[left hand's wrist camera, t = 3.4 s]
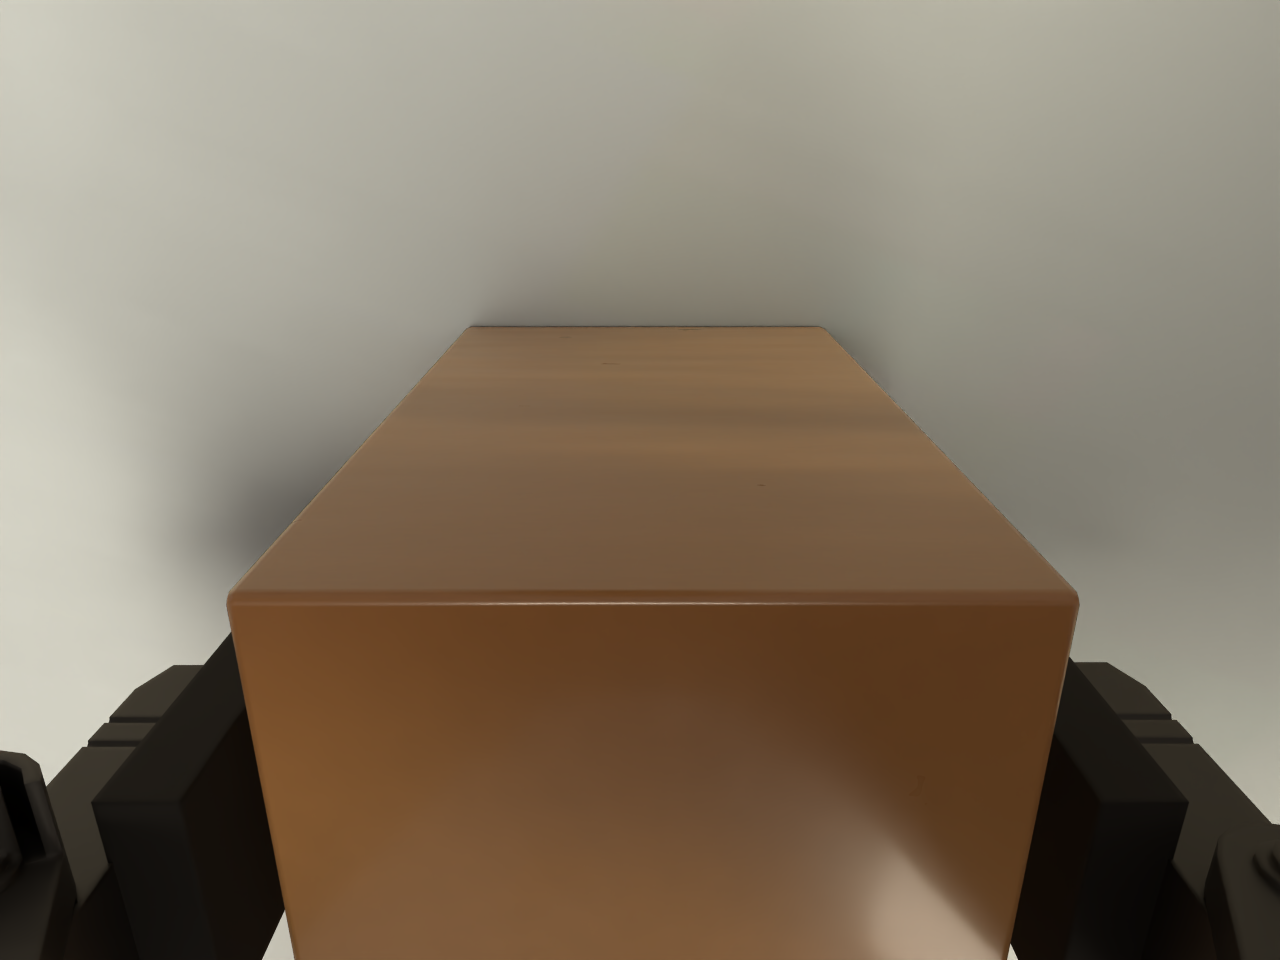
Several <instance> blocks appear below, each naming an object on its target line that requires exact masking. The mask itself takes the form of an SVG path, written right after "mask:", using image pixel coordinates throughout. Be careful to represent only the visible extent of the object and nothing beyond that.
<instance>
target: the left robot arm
mask: <svg viewBox="0 0 1280 960" xmlns="http://www.w3.org/2000/svg"><path fill="white" fill-rule="evenodd" d="M284 910H285V907H284V902H283V896H282V891H281V886H280V881H279V876H278V870H277V865H276V860H275V855H274V850H273V844H272V839H271V834H270V829H269V824H268V818H267V813H266V808H265V803H264V798H263V792H262V787H261V782H260V777H259V772H258V766H257V761H256V756H255V751H254V746H253V741H252V735H251V730H250V725H249V720H248V715H247V709H246V704H245V699H244V694H243V689H242V683H241V678H240V673H239V668H238V663H237V657H236V652H235V647H234V642H233V637H232V632H231V633H230V634H229V635H228V636H227V638H226V639H225V640H224V641H223V642H222V644H221V645H220V646H219V647H218V648H217V650H216V651H215V652H214V653H213V655H212V656H211V657H210V658H209V659H208V661H207V662H206V663H205V664H204V665H173V666H172V667H170V668H168V669H167V670H165V671H164V672H162V673H160V674H159V675H157V676H156V677H154V678H152V679H151V680H149V681H148V682H146V683H144V684H143V685H141V686H140V687H138V688H136V689H135V690H134V691H133V692H132V693H131V694H130V696H129V697H128V698H127V699H126V700H125V701H124V702H123V703H122V704H121V705H120V706H119V708H118V709H117V710H116V711H115V712H114V713H113V714H112V715H111V716H110V720H109V723H104V724H103V725H102V726H101V727H100V728H99V729H98V731H97V732H96V733H95V734H94V735H93V736H92V737H91V738H90V739H89V740H88V746H87V747H82V748H81V749H80V750H79V751H78V752H77V754H76V755H75V756H74V757H73V758H72V759H71V760H70V761H69V762H68V763H67V765H66V766H65V767H64V768H63V769H62V770H61V771H60V772H59V773H58V774H57V775H56V777H55V778H54V779H53V780H52V781H51V782H50V783H49V784H48V785H47V786H46V785H45V782H44V778H43V775H42V772H41V768H40V765H39V764H38V763H37V762H36V761H34V760H33V759H31V758H30V757H29V756H27V755H26V754H23V753H15V752H8V751H0V960H262V958H263V956H264V954H265V952H266V950H267V947H268V945H269V943H270V941H271V939H272V936H273V934H274V932H275V930H276V928H277V926H278V923H279V921H280V919H281V917H282V915H283V913H284ZM1010 943H1011V945H1012V947H1013V950H1014V952H1015V954H1016V956H1017V958H1018V960H1280V825H1277V824H1272V823H1271V822H1270V821H1269V820H1268V819H1267V818H1266V817H1265V816H1264V815H1263V814H1262V812H1261V811H1260V810H1259V809H1258V808H1257V807H1256V806H1255V805H1254V804H1253V803H1252V802H1251V801H1250V799H1249V798H1248V797H1247V796H1246V795H1245V794H1244V793H1243V792H1242V791H1241V790H1240V789H1239V787H1238V786H1237V785H1236V784H1235V783H1234V782H1233V781H1232V780H1231V779H1230V778H1229V777H1228V776H1227V774H1226V773H1225V772H1224V771H1223V770H1222V769H1221V768H1220V767H1219V766H1218V765H1217V764H1216V762H1215V761H1214V760H1213V759H1212V758H1211V757H1210V756H1209V755H1208V754H1207V753H1206V752H1205V750H1204V749H1203V748H1202V747H1201V746H1200V745H1199V744H1194V743H1193V737H1192V736H1191V735H1190V734H1189V733H1188V732H1187V731H1186V730H1185V729H1184V728H1183V727H1182V725H1181V724H1180V723H1179V722H1178V721H1177V720H1172V718H1171V714H1170V712H1169V711H1168V710H1167V709H1166V708H1165V707H1164V706H1163V705H1162V704H1161V703H1160V702H1159V700H1158V699H1157V698H1156V697H1155V696H1154V695H1153V694H1152V693H1151V692H1150V691H1149V690H1148V689H1147V687H1146V686H1144V685H1143V684H1141V683H1139V682H1138V681H1136V680H1135V679H1133V678H1131V677H1130V676H1128V675H1126V674H1125V673H1123V672H1122V671H1120V670H1118V669H1117V668H1115V667H1114V666H1112V665H1110V664H1109V663H1107V662H1073V661H1072V659H1071V658H1070V657H1069V659H1068V664H1067V669H1066V674H1065V679H1064V683H1063V688H1062V693H1061V698H1060V703H1059V708H1058V713H1057V718H1056V722H1055V727H1054V732H1053V737H1052V742H1051V747H1050V752H1049V757H1048V762H1047V766H1046V771H1045V776H1044V781H1043V786H1042V791H1041V796H1040V801H1039V806H1038V810H1037V815H1036V820H1035V825H1034V830H1033V835H1032V840H1031V845H1030V850H1029V854H1028V859H1027V864H1026V869H1025V874H1024V879H1023V884H1022V889H1021V894H1020V898H1019V903H1018V908H1017V913H1016V918H1015V923H1014V928H1013V933H1012V938H1011V942H1010Z"/></svg>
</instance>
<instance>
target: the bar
mask: <svg viewBox="0 0 1280 960" xmlns="http://www.w3.org/2000/svg"><path fill="white" fill-rule="evenodd" d="M226 605H227V611H228V616H229V621H230V626H231V631H232V637H233V642H234V647H235V652H236V657H237V663H238V668H239V673H240V678H241V683H242V689H243V694H244V699H245V704H246V709H247V715H248V720H249V725H250V730H251V735H252V741H253V746H254V751H255V756H256V761H257V766H258V772H259V777H260V782H261V787H262V792H263V798H264V803H265V808H266V813H267V818H268V824H269V829H270V834H271V839H272V844H273V850H274V855H275V860H276V865H277V870H278V876H279V881H280V886H281V891H282V896H283V902H284V907H285V912H286V917H287V922H288V927H289V933H290V938H291V943H292V948H293V953H294V959H295V960H1007V957H1008V952H1009V947H1010V942H1011V938H1012V933H1013V928H1014V923H1015V918H1016V913H1017V908H1018V903H1019V898H1020V894H1021V889H1022V884H1023V879H1024V874H1025V869H1026V864H1027V859H1028V854H1029V850H1030V845H1031V840H1032V835H1033V830H1034V825H1035V820H1036V815H1037V810H1038V806H1039V801H1040V796H1041V791H1042V786H1043V781H1044V776H1045V771H1046V766H1047V762H1048V757H1049V752H1050V747H1051V742H1052V737H1053V732H1054V727H1055V722H1056V718H1057V713H1058V708H1059V703H1060V698H1061V693H1062V688H1063V683H1064V679H1065V674H1066V669H1067V664H1068V659H1069V654H1070V649H1071V644H1072V639H1073V635H1074V630H1075V625H1076V620H1077V615H1078V610H1079V598H1078V595H1077V592H1076V591H1075V590H1074V589H1073V588H1072V587H1071V586H1070V584H1069V583H1068V582H1067V581H1066V580H1065V579H1064V578H1063V577H1062V576H1061V575H1060V574H1059V573H1058V572H1057V571H1056V570H1055V569H1054V568H1053V567H1052V566H1051V565H1050V564H1049V563H1048V562H1047V560H1046V559H1045V558H1044V557H1043V556H1042V555H1041V554H1040V553H1039V552H1038V551H1037V550H1036V549H1035V548H1034V547H1033V546H1032V545H1031V544H1030V543H1029V542H1028V541H1027V540H1026V539H1025V538H1024V536H1023V535H1022V534H1021V533H1020V532H1019V531H1018V530H1017V529H1016V528H1015V527H1014V526H1013V525H1012V524H1011V523H1010V522H1009V521H1008V520H1007V519H1006V518H1005V517H1004V516H1003V515H1002V514H1001V512H1000V511H999V510H998V509H997V508H996V507H995V506H994V505H993V504H992V503H991V502H990V501H989V500H988V499H987V498H986V497H985V496H984V495H983V494H982V493H981V492H980V491H979V490H978V489H977V487H976V486H975V485H974V484H973V483H972V482H971V481H970V480H969V479H968V478H967V477H966V476H965V475H964V474H963V473H962V472H961V471H960V470H959V469H958V468H957V467H956V466H955V465H954V463H953V462H952V461H951V460H950V459H949V458H948V457H947V456H946V455H945V454H944V453H943V452H942V451H941V450H940V449H939V448H938V447H937V446H936V445H935V444H934V443H933V442H932V441H931V439H930V438H929V437H928V436H927V435H926V434H925V433H924V432H923V431H922V430H921V429H920V428H919V427H918V426H917V425H916V424H915V423H914V422H913V421H912V420H911V419H910V418H909V417H908V415H907V414H906V413H905V412H904V411H903V410H902V409H901V408H900V407H899V406H898V405H897V404H896V403H895V402H894V401H893V400H892V399H891V398H890V397H889V396H888V395H887V394H886V393H885V392H884V390H883V389H882V388H881V387H880V386H879V385H878V384H877V383H876V382H875V381H874V380H873V379H872V378H871V377H870V376H869V375H868V374H867V373H866V372H865V371H864V370H863V369H862V368H861V366H860V365H859V364H858V363H857V362H856V361H855V360H854V359H853V358H852V357H851V356H850V355H849V354H848V353H847V352H846V351H845V350H844V349H843V348H842V347H841V346H840V345H839V344H838V342H837V341H836V340H835V339H834V338H833V337H832V336H831V335H830V334H829V333H828V332H827V331H826V330H825V329H824V328H821V327H470V328H467V329H466V330H465V331H464V332H463V333H462V335H461V336H460V337H459V338H458V339H457V340H456V341H455V342H454V343H453V344H452V346H451V347H450V348H449V349H448V350H447V351H446V352H445V353H444V354H443V356H442V357H441V358H440V359H439V360H438V361H437V362H436V363H435V364H434V366H433V367H432V368H431V369H430V370H429V371H428V372H427V373H426V374H425V375H424V377H423V378H422V379H421V380H420V381H419V382H418V383H417V384H416V385H415V387H414V388H413V389H412V390H411V391H410V392H409V393H408V394H407V395H406V397H405V398H404V399H403V400H402V401H401V402H400V403H399V404H398V405H397V406H396V408H395V409H394V410H393V411H392V412H391V413H390V414H389V415H388V416H387V418H386V419H385V420H384V421H383V422H382V423H381V424H380V425H379V426H378V428H377V429H376V430H375V431H374V432H373V433H372V434H371V435H370V436H369V437H368V439H367V440H366V441H365V442H364V443H363V444H362V445H361V446H360V447H359V449H358V450H357V451H356V452H355V453H354V454H353V455H352V456H351V457H350V459H349V460H348V461H347V462H346V463H345V464H344V465H343V466H342V467H341V469H340V470H339V471H338V472H337V473H336V474H335V475H334V476H333V477H332V478H331V480H330V481H329V482H328V483H327V484H326V485H325V486H324V487H323V488H322V490H321V491H320V492H319V493H318V494H317V495H316V496H315V497H314V498H313V500H312V501H311V502H310V503H309V504H308V505H307V506H306V507H305V508H304V509H303V511H302V512H301V513H300V514H299V515H298V516H297V517H296V518H295V519H294V521H293V522H292V523H291V524H290V525H289V526H288V527H287V528H286V529H285V531H284V532H283V533H282V534H281V535H280V536H279V537H278V538H277V539H276V540H275V542H274V543H273V544H272V545H271V546H270V547H269V548H268V549H267V550H266V552H265V553H264V554H263V555H262V556H261V557H260V558H259V559H258V560H257V562H256V563H255V564H254V565H253V566H252V567H251V568H250V569H249V570H248V572H247V573H246V574H245V575H244V576H243V577H242V578H241V579H240V580H239V581H238V583H237V584H236V585H235V586H234V587H233V588H232V589H231V590H230V591H229V594H228V597H227V604H226Z"/></svg>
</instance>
